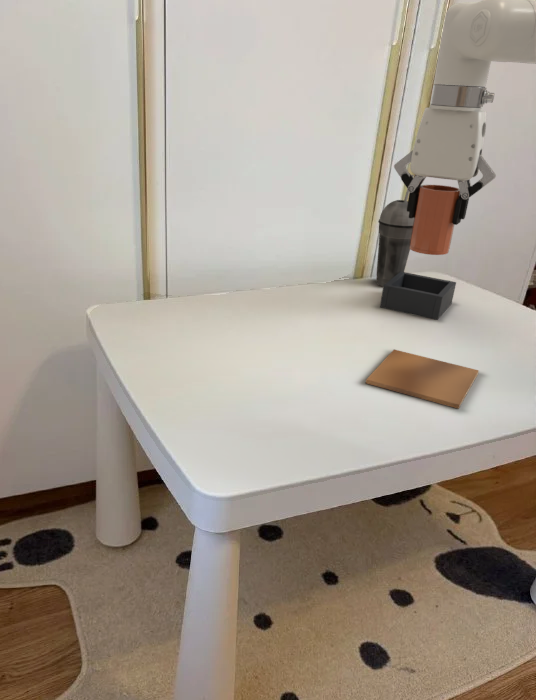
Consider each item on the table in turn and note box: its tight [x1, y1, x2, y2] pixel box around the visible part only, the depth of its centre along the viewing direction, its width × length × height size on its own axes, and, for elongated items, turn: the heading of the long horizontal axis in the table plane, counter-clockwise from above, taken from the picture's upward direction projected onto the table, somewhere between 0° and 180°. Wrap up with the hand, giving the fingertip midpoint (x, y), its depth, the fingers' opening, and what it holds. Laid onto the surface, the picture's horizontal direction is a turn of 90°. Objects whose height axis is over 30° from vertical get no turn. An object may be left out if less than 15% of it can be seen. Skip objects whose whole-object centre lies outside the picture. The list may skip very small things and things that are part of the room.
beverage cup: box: [375, 174, 415, 287], centre depth 117 cm, size 7×7×20 cm
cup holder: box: [379, 271, 457, 321], centre depth 110 cm, size 10×10×4 cm
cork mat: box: [365, 349, 480, 410], centre depth 84 cm, size 12×12×1 cm
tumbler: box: [409, 184, 460, 256], centre depth 104 cm, size 6×6×10 cm
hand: (434, 219), depth 104 cm, fingers closed on tumbler, 6 cm apart
